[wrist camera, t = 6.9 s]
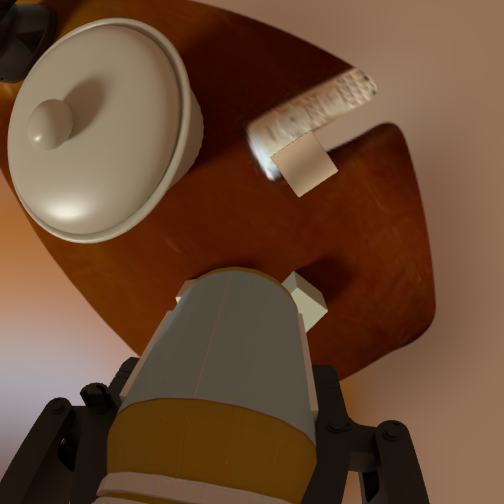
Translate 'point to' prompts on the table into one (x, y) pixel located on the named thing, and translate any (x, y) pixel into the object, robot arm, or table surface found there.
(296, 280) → the sage cube
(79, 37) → the canister
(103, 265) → the table surface
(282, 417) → the bottle
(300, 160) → the birch cube
